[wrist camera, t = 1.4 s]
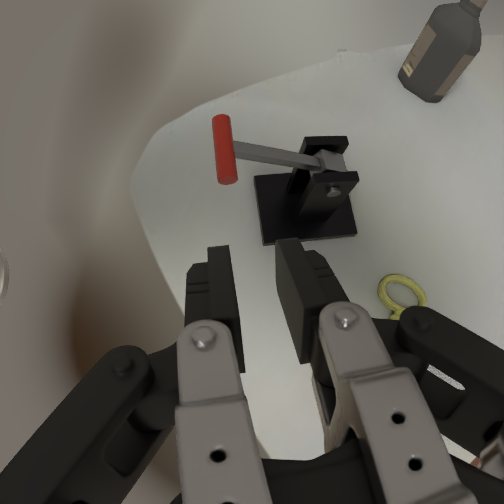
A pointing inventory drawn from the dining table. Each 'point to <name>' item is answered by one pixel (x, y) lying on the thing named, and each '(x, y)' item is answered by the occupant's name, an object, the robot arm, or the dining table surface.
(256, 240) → the dining table surface
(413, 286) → the key
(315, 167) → the lever
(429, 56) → the liquor
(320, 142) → the switch bracket
